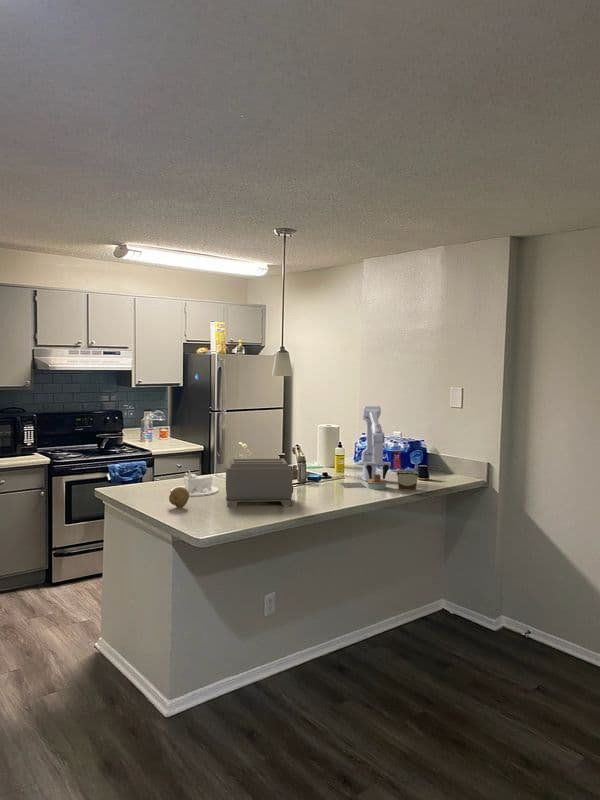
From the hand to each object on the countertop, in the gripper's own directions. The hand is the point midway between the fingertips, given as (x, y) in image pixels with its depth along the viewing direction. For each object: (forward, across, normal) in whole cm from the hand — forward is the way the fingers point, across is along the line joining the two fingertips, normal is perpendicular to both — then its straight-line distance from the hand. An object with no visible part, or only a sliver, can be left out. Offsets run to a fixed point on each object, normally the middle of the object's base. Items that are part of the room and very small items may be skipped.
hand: (377, 478), depth 347 cm
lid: (+2, 0, 0) cm, 2 cm away
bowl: (+5, 0, 0) cm, 5 cm away
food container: (+5, +16, -4) cm, 17 cm away
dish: (+6, -100, -2) cm, 100 cm away
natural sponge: (+5, -107, -39) cm, 114 cm away
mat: (+5, -12, +7) cm, 15 cm away
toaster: (+6, -67, -29) cm, 73 cm away
